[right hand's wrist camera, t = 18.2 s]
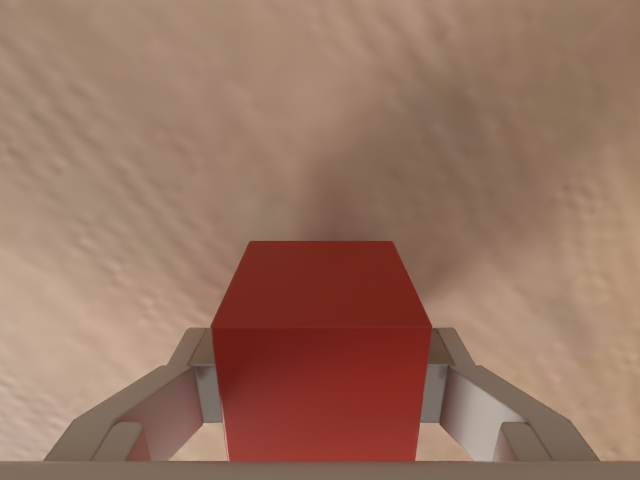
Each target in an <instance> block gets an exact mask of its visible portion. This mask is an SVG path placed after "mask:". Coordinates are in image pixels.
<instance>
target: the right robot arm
mask: <svg viewBox="0 0 640 480" xmlns="http://www.w3.org/2000/svg"><path fill="white" fill-rule="evenodd" d="M219 422H222V414H221V406H220V398H219V391H218V383H217V375H216V367H215V360H214V352H213V344H212V336H211V328H189V329H187V330H186V332H185V333H184V335H183V337H182V339H181V341H180V342H179V344H178V346H177V348H176V350H175V351H174V353H173V355H172V357H171V359H170V360H169V362H168V364H167V366H160V367H158V368H157V369H155V370H153V371H152V372H150V373H149V374H147V375H145V376H144V377H142V378H140V379H139V380H137V381H136V382H134V383H132V384H131V385H129V386H128V387H126V388H124V389H123V390H121V391H120V392H118V393H116V394H115V395H113V396H112V397H110V398H108V399H107V400H105V401H103V402H102V403H100V404H99V405H97V406H95V407H94V408H92V409H91V410H89V411H87V412H86V413H84V414H83V415H81V416H79V417H78V418H76V419H75V420H73V421H72V423H71V424H70V425H69V427H68V428H67V430H66V431H65V432H64V434H63V435H62V436H61V438H60V439H59V440H58V442H57V443H56V444H55V446H54V447H53V448H52V450H51V451H50V452H49V454H48V455H47V456H46V458H45V459H44V460H43V461H0V480H640V461H600V460H599V458H598V457H597V456H596V454H595V453H594V452H593V450H592V449H591V448H590V446H589V445H588V444H587V442H586V441H585V440H584V438H583V437H582V436H581V434H580V433H579V432H578V430H577V429H576V428H575V426H574V425H573V424H572V422H571V421H570V420H568V419H567V418H565V417H563V416H562V415H560V414H559V413H557V412H555V411H554V410H552V409H551V408H549V407H547V406H546V405H544V404H542V403H541V402H539V401H538V400H536V399H534V398H533V397H531V396H530V395H528V394H526V393H525V392H523V391H521V390H520V389H518V388H517V387H515V386H513V385H512V384H510V383H509V382H507V381H505V380H504V379H502V378H500V377H499V376H497V375H496V374H494V373H492V372H491V371H489V370H488V369H486V368H484V367H483V366H476V365H475V363H474V361H473V360H472V358H471V356H470V354H469V353H468V351H467V349H466V347H465V346H464V344H463V342H462V340H461V339H460V337H459V335H458V333H457V332H456V330H455V329H454V328H452V327H448V328H432V334H431V341H430V349H429V357H428V364H427V372H426V380H425V387H424V395H423V403H422V410H421V418H420V422H423V423H440V425H441V426H442V428H443V429H444V430H445V431H446V432H447V433H448V434H449V435H450V436H451V437H452V438H453V439H454V440H455V441H456V442H457V443H458V444H459V445H460V446H461V447H462V448H463V449H464V450H465V451H466V452H467V453H468V454H469V455H470V456H471V457H472V458H473V460H474V461H168V460H169V459H170V458H171V457H172V456H173V455H174V454H175V453H176V452H177V451H178V450H179V449H180V448H181V447H182V446H183V445H184V444H185V443H186V442H187V441H188V440H189V439H190V437H191V436H192V435H193V434H194V433H195V432H196V431H197V430H198V429H199V428H200V427H201V426H202V425H203V424H202V423H219Z"/></svg>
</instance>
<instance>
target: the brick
mask: <svg viewBox="0 0 640 480" xmlns="http://www.w3.org/2000/svg"><path fill="white" fill-rule="evenodd" d="M210 328H211V336H212V344H213V352H214V360H215V367H216V375H217V383H218V391H219V398H220V406H221V414H222V422H223V429H224V437H225V445H226V453H227V461H415V457H416V449H417V441H418V434H419V426H420V418H421V410H422V403H423V395H424V387H425V380H426V372H427V364H428V357H429V349H430V341H431V334H432V325H431V323H430V321H429V318H428V316H427V314H426V312H425V310H424V308H423V306H422V303H421V301H420V299H419V297H418V295H417V293H416V291H415V288H414V286H413V284H412V282H411V280H410V278H409V276H408V273H407V271H406V269H405V267H404V265H403V263H402V261H401V258H400V256H399V254H398V252H397V250H396V248H395V246H394V243H393V242H392V241H250V242H249V244H248V246H247V248H246V250H245V253H244V255H243V257H242V259H241V261H240V263H239V266H238V268H237V270H236V272H235V274H234V276H233V279H232V281H231V283H230V285H229V287H228V289H227V292H226V294H225V296H224V298H223V300H222V302H221V305H220V307H219V309H218V311H217V313H216V315H215V318H214V320H213V322H212V324H211V327H210Z"/></svg>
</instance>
